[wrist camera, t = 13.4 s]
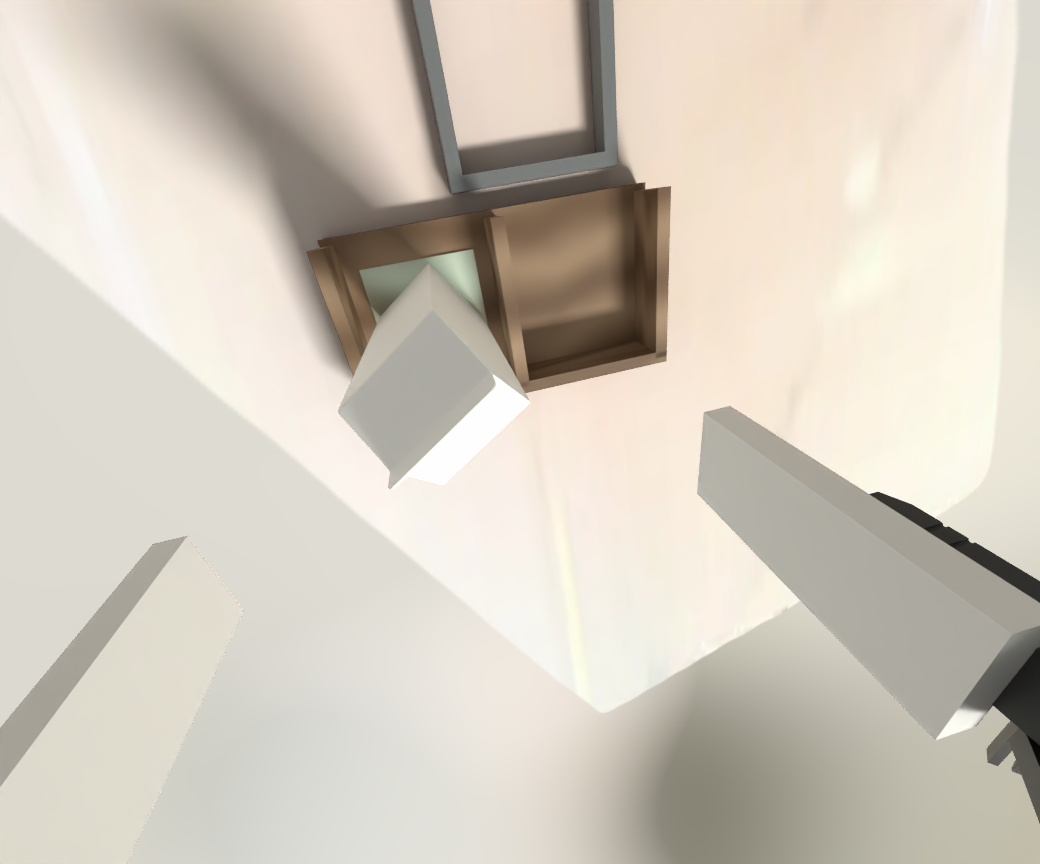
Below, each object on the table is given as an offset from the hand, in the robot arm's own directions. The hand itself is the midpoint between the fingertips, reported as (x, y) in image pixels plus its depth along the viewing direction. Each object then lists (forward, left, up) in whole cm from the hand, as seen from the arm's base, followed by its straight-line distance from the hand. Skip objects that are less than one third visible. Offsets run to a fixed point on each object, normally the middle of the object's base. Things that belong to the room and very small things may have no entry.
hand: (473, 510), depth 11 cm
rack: (+1, +5, -29) cm, 29 cm away
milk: (0, -1, -27) cm, 27 cm away
